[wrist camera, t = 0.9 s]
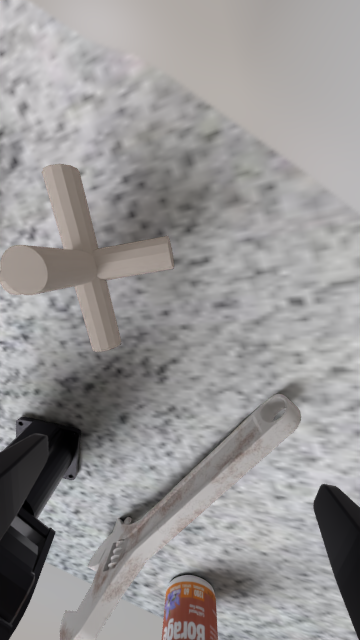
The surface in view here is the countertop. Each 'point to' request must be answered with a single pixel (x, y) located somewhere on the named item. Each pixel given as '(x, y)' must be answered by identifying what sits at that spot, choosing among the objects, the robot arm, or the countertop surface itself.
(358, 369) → the countertop surface
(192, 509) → the wrench
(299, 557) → the countertop surface
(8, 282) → the pipe connector
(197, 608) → the pill bottle
